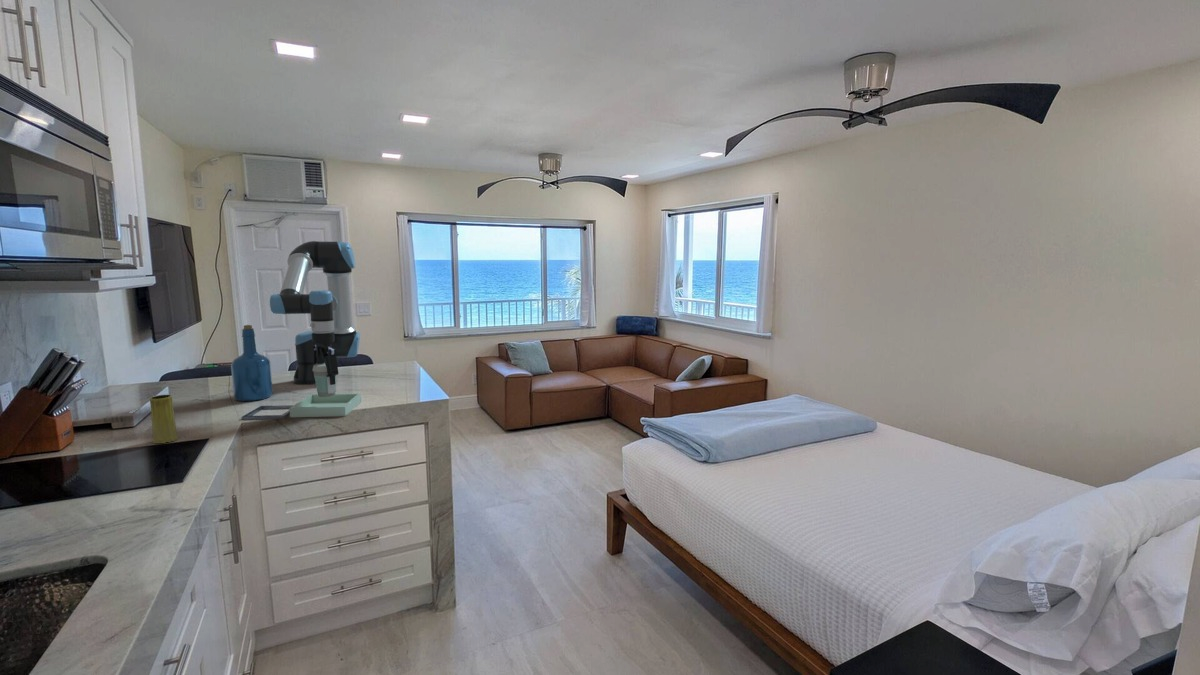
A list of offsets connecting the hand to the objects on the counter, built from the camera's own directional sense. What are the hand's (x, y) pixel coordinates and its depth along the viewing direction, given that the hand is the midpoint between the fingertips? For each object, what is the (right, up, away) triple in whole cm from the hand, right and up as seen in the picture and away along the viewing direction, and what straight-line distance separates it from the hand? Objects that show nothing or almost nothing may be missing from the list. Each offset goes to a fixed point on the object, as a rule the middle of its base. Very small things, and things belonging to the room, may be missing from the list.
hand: (326, 390), depth 196 cm
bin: (0, -7, +1) cm, 7 cm away
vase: (-32, -12, -35) cm, 49 cm away
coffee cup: (0, -2, 0) cm, 2 cm away
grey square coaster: (-17, -8, -6) cm, 20 cm away
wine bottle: (-38, -5, +14) cm, 41 cm away
